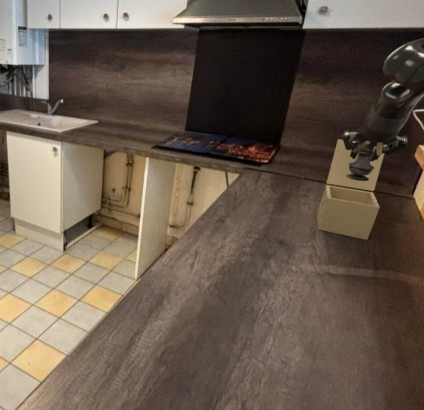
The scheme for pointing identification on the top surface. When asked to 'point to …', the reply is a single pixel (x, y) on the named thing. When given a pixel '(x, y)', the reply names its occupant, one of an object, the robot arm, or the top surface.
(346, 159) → the lid
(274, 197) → the top surface
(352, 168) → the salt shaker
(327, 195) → the tan open box
